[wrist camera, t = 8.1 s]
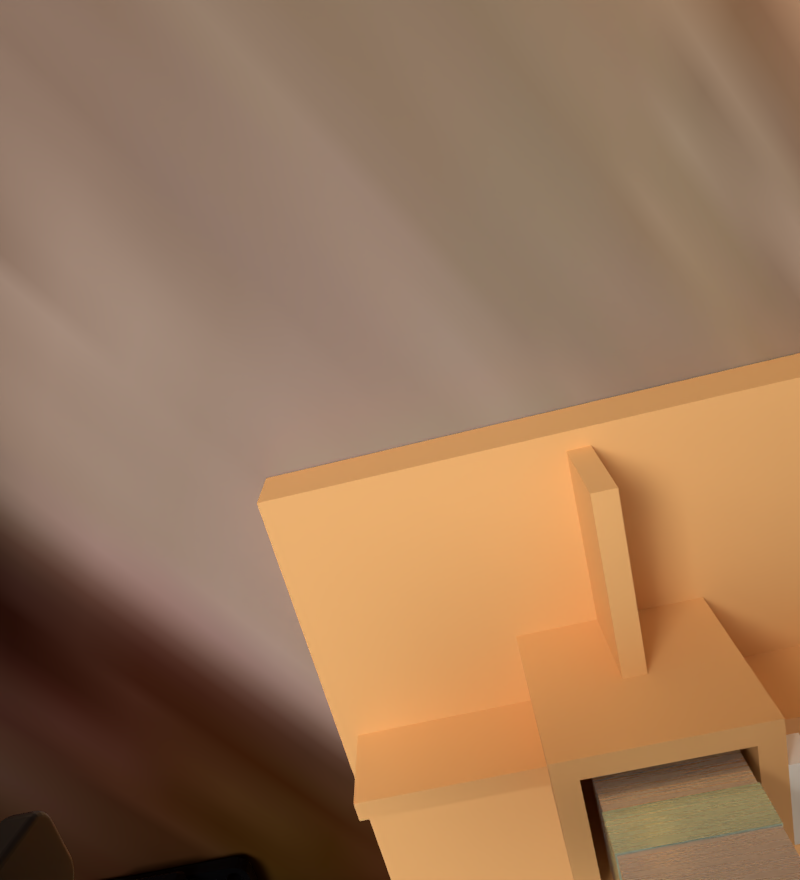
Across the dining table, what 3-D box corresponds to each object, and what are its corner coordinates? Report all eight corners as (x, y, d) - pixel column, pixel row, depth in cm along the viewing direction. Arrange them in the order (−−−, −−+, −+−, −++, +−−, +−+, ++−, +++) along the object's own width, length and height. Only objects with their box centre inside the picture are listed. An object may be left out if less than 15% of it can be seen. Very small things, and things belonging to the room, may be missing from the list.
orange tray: (887, 802, 25) (1032, 996, 19) (409, 890, 26) (413, 1096, 20) (879, 334, 19) (1082, 415, 13) (266, 478, 20) (218, 606, 15)
